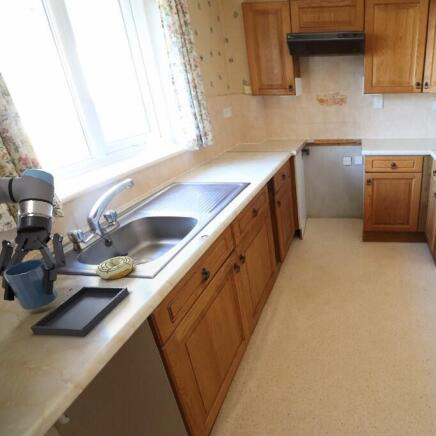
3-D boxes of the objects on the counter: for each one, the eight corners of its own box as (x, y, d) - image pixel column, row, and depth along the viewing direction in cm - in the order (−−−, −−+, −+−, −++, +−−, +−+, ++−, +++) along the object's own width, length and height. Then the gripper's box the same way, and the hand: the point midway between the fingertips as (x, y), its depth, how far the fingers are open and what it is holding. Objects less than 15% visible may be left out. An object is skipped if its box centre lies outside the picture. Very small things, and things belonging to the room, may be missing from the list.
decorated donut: (104, 286, 100) (99, 276, 99) (95, 273, 107) (91, 263, 106) (139, 271, 107) (136, 261, 105) (129, 260, 114) (125, 250, 112)
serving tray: (85, 292, 98) (83, 285, 97) (129, 293, 96) (126, 287, 95) (33, 334, 82) (30, 327, 81) (84, 336, 81) (81, 329, 80)
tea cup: (22, 299, 92) (5, 266, 87) (58, 287, 97) (43, 256, 92) (20, 314, 86) (1, 280, 82) (58, 301, 91) (43, 268, 86)
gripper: (82, 218, 100) (80, 291, 93) (1, 229, 95) (-8, 306, 88) (69, 209, 93) (65, 286, 86) (-19, 220, 88) (-31, 303, 81)
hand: (28, 296), depth 87 cm, fingers closed on tea cup, 8 cm apart
